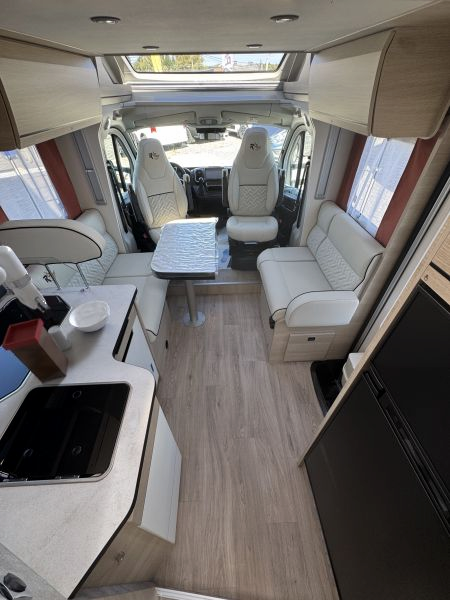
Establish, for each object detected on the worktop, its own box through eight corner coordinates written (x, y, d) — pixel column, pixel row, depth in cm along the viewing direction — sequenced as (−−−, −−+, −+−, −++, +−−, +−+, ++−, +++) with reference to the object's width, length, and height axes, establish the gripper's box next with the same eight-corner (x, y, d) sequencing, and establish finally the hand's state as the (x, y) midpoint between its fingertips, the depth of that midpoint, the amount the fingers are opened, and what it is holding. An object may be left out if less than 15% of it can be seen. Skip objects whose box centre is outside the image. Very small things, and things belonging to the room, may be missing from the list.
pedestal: (42, 383, 103) (8, 349, 88) (45, 365, 110) (14, 330, 94) (66, 376, 105) (37, 341, 90) (68, 359, 112) (41, 324, 96)
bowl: (72, 319, 130) (66, 309, 125) (108, 306, 137) (104, 296, 132) (78, 343, 118) (72, 333, 113) (118, 327, 125) (113, 316, 120)
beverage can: (74, 343, 118) (62, 326, 110) (67, 351, 115) (54, 334, 107) (65, 341, 119) (53, 324, 111) (58, 349, 116) (45, 332, 108)
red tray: (6, 350, 87) (1, 346, 86) (13, 329, 94) (9, 325, 93) (38, 342, 90) (35, 337, 88) (43, 322, 97) (40, 318, 95)
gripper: (-6, 278, 92) (21, 311, 103) (21, 292, 85) (47, 326, 97) (15, 267, 96) (38, 300, 108) (42, 280, 90) (64, 314, 102)
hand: (42, 312), depth 102 cm, fingers open, 9 cm apart
